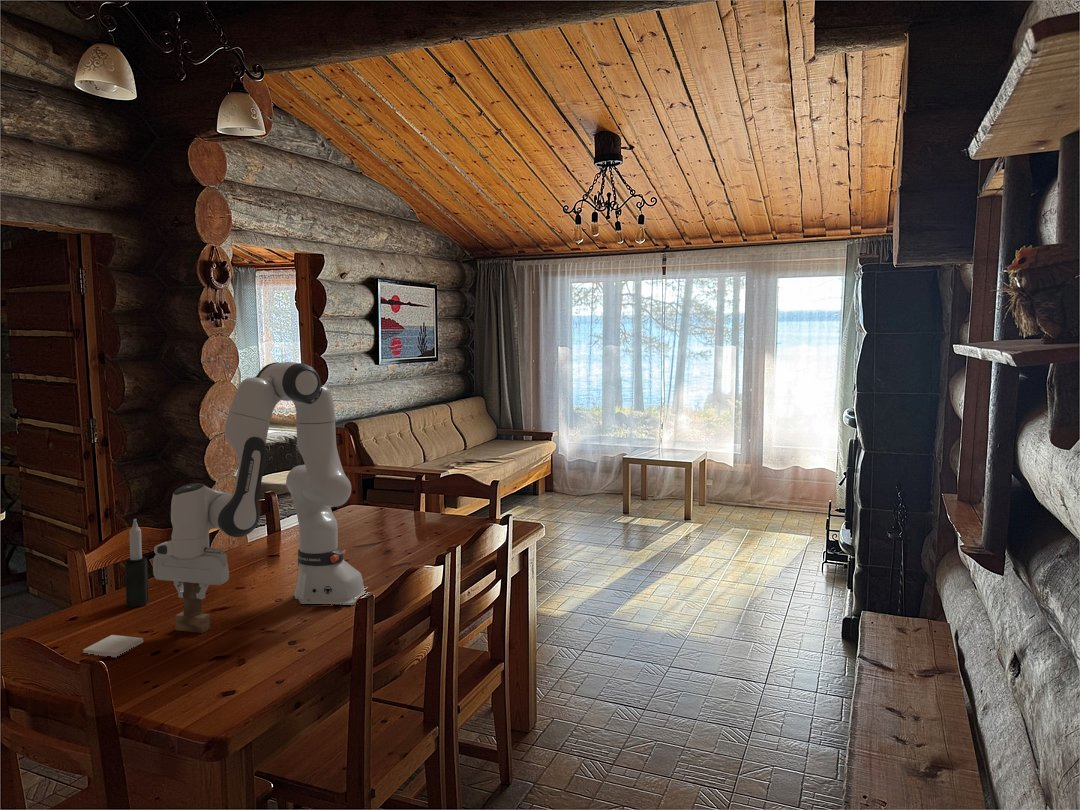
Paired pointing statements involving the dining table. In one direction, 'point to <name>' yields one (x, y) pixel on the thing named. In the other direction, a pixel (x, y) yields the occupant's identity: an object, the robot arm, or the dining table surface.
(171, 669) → the dining table surface
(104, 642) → the tile
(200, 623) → the grey t-shaped post
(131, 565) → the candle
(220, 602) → the dining table surface
